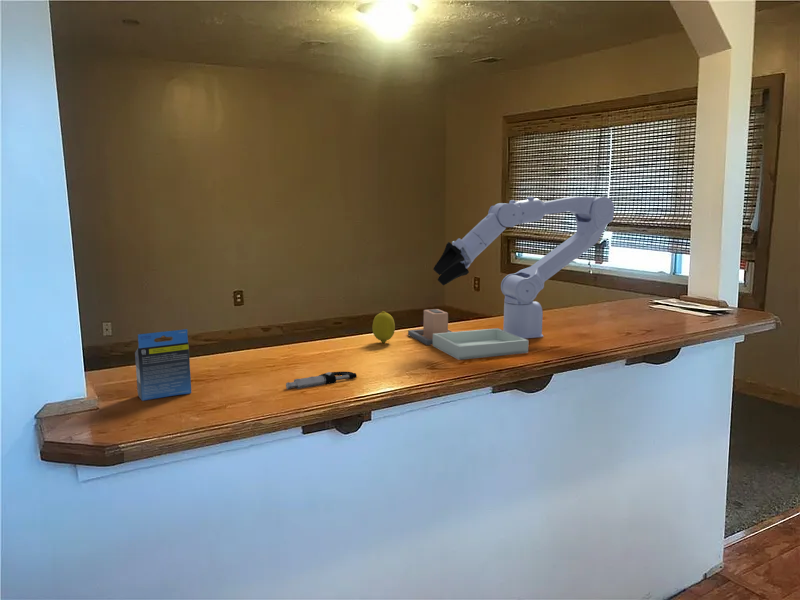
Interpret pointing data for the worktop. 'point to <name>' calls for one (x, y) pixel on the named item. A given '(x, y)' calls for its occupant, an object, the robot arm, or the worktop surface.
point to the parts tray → (480, 343)
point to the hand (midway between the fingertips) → (438, 277)
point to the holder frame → (420, 336)
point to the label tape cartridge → (163, 365)
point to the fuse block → (435, 322)
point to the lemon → (383, 326)
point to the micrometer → (320, 380)
